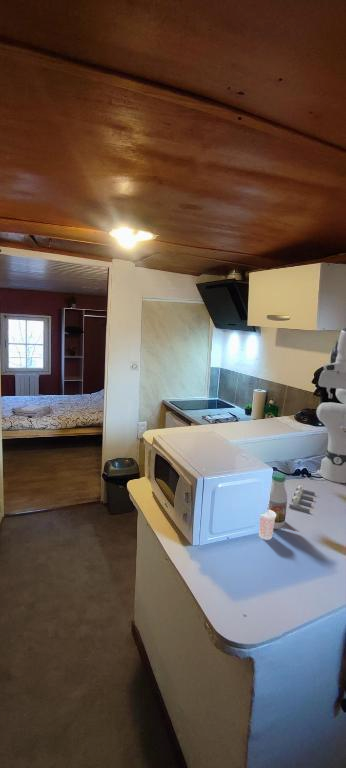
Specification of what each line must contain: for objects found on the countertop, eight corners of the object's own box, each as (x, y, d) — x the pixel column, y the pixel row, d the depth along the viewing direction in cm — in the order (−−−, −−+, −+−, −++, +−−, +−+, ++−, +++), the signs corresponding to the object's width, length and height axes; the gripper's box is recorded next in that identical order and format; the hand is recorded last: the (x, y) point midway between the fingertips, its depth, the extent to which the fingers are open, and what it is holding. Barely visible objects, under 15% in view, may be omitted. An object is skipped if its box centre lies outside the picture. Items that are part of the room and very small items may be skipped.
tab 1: (297, 492, 166) (298, 484, 165) (302, 493, 165) (303, 485, 164) (296, 495, 163) (297, 486, 162) (301, 496, 162) (302, 487, 162)
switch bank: (295, 490, 171) (296, 485, 170) (316, 495, 166) (316, 490, 166) (286, 512, 149) (287, 506, 149) (309, 518, 145) (310, 512, 145)
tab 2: (295, 497, 160) (296, 489, 160) (300, 499, 160) (301, 490, 159) (294, 500, 158) (295, 491, 157) (299, 501, 157) (300, 493, 156)
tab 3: (293, 503, 155) (294, 494, 154) (298, 504, 154) (299, 495, 154) (292, 506, 153) (293, 497, 152) (297, 507, 152) (298, 498, 151)
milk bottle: (259, 520, 142) (264, 472, 139) (275, 517, 145) (280, 470, 142) (272, 531, 135) (278, 481, 132) (288, 527, 138) (294, 478, 135)
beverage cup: (256, 539, 129) (260, 502, 127) (256, 530, 135) (260, 495, 133) (274, 542, 128) (278, 505, 126) (273, 532, 134) (277, 497, 132)
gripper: (374, 369, 150) (369, 401, 152) (321, 364, 159) (317, 395, 161) (374, 370, 144) (369, 404, 146) (320, 365, 153) (316, 397, 156)
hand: (342, 399), depth 154 cm, fingers open, 8 cm apart
